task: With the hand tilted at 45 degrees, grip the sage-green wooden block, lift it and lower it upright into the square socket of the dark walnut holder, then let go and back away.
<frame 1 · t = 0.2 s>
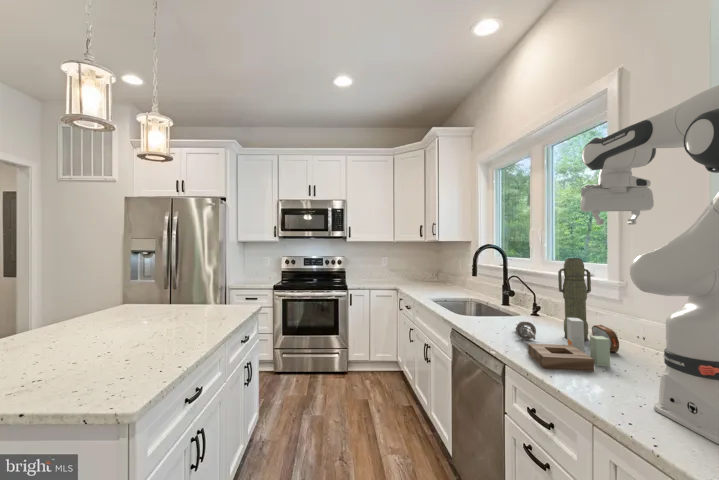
hand: (615, 224, 109), 47 cm above the countertop, fingers open, 8 cm apart
thermos: (576, 338, 142), on the countertop
walnut holder: (558, 362, 113), on the countertop
tin: (604, 349, 127), on the countertop
skincare box: (576, 350, 125), on the countertop
spaceship: (526, 340, 141), on the countertop
green block: (600, 364, 110), on the countertop
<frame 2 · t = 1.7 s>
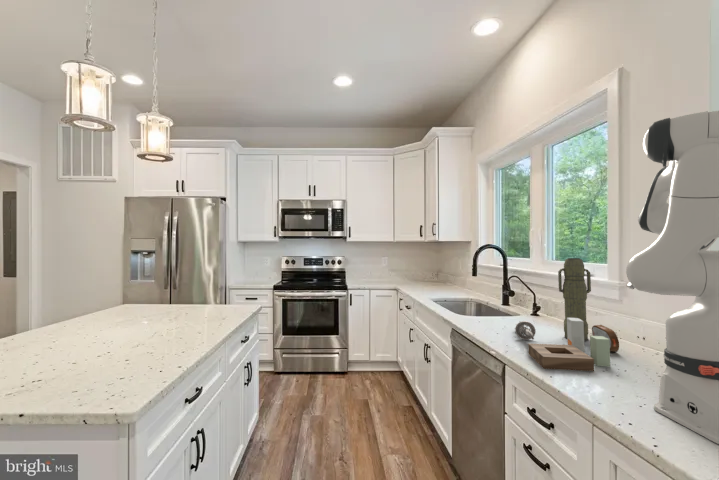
hand: (638, 289, 109), 25 cm above the countertop, fingers open, 8 cm apart
nothing on the countertop moved.
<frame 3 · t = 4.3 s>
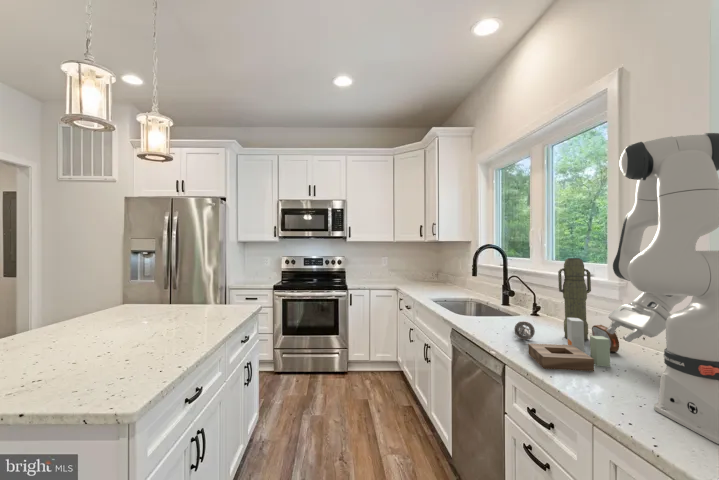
hand: (616, 336, 110), 10 cm above the countertop, fingers open, 8 cm apart
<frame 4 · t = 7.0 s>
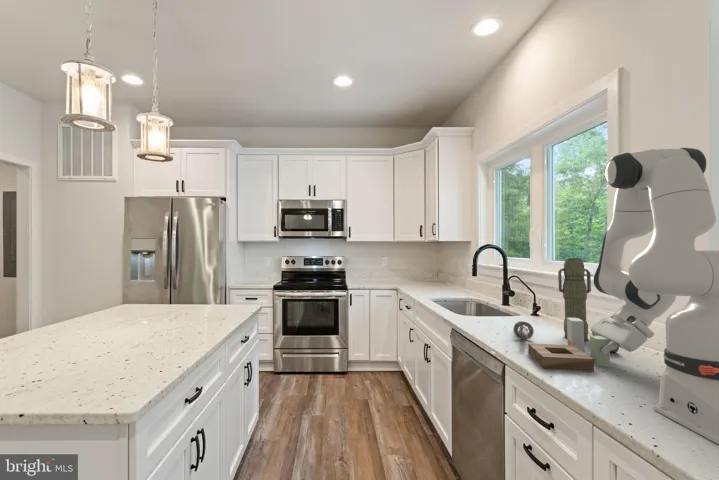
hand: (597, 349, 111), 5 cm above the countertop, fingers closed on green block, 4 cm apart
green block: (600, 364, 110), on the countertop, touching gripper
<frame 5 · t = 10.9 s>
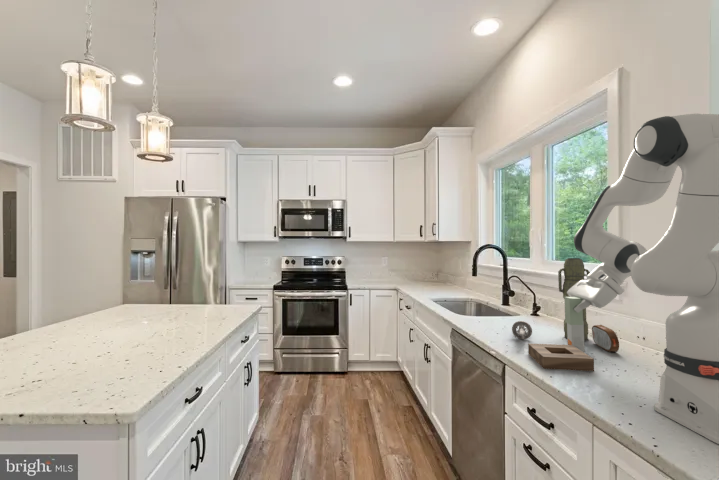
hand: (571, 309, 113), 18 cm above the countertop, fingers closed on green block, 4 cm apart
green block: (574, 323, 112), point 13 cm above the countertop, touching gripper
when the fingers open (7 cm above the countertop, at t = 15.0 s): green block stays where it is, resting on walnut holder.
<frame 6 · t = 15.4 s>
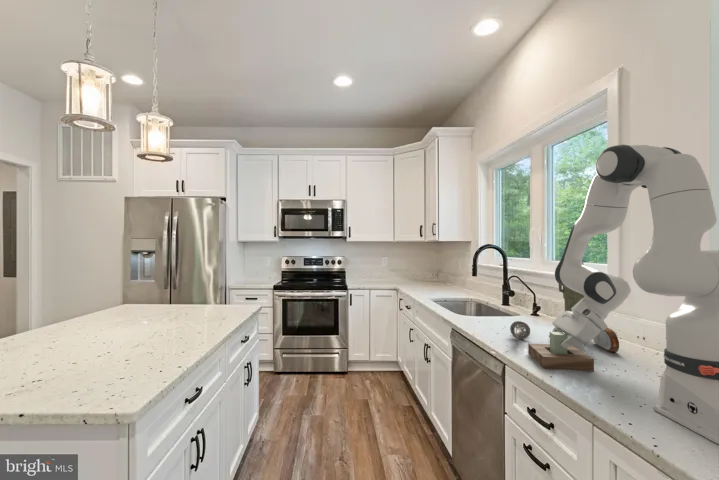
hand: (556, 342, 113), 7 cm above the countertop, fingers open, 8 cm apart
green block: (558, 359, 113), point 1 cm above the countertop, touching walnut holder
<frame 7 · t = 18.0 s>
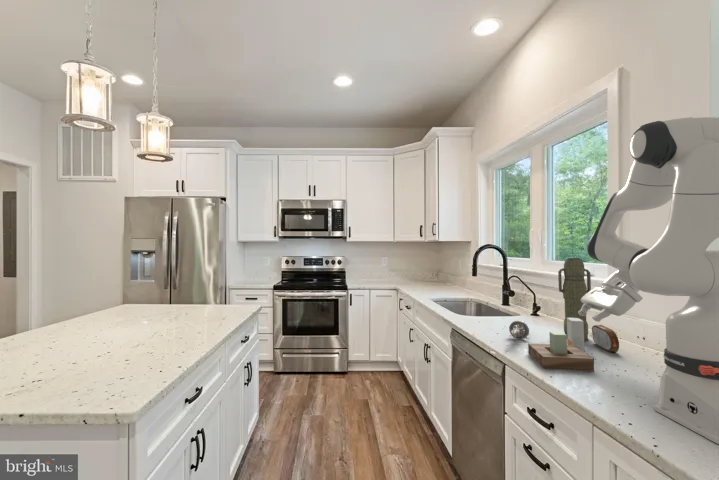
hand: (587, 317, 111), 16 cm above the countertop, fingers open, 8 cm apart
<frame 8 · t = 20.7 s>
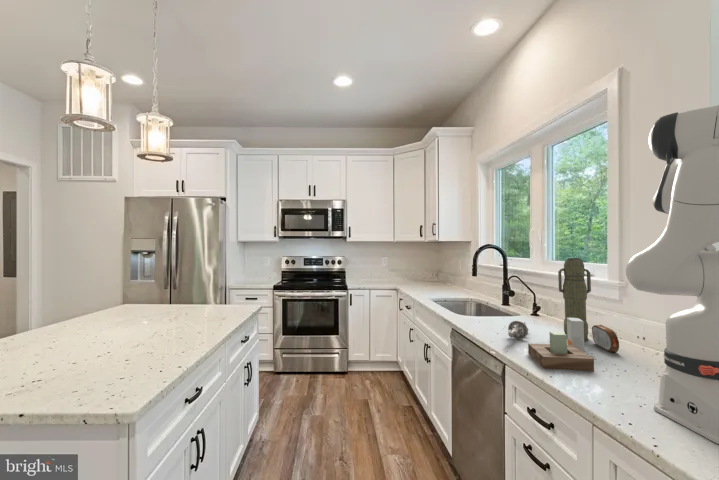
hand: (651, 272, 106), 31 cm above the countertop, fingers open, 8 cm apart
at the end: green block 0.0 cm off-centre on the walnut holder, point 1.0 cm above the walnut holder's base; green block tilted 0°; the gripper is holding nothing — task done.
